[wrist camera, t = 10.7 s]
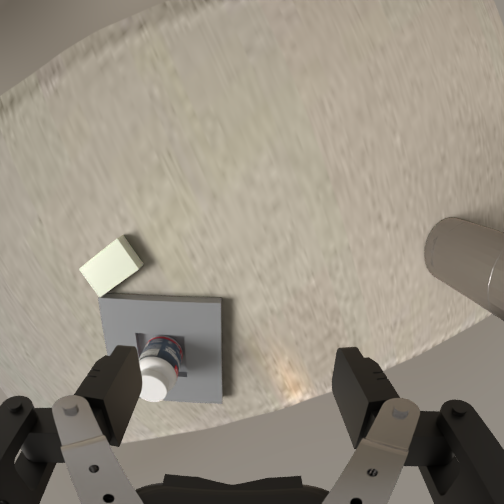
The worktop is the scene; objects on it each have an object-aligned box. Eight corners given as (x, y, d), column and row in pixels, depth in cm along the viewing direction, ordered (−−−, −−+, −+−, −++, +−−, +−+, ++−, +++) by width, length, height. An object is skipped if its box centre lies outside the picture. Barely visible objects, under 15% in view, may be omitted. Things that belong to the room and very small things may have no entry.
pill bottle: (189, 361, 42) (180, 402, 33) (156, 370, 42) (142, 410, 34) (173, 329, 41) (159, 366, 32) (139, 339, 41) (120, 376, 32)
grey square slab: (221, 297, 41) (220, 303, 39) (222, 396, 44) (222, 403, 43) (103, 292, 40) (98, 297, 38) (119, 388, 44) (116, 395, 42)
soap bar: (124, 234, 38) (117, 238, 36) (144, 263, 39) (138, 269, 37) (87, 263, 39) (79, 268, 37) (106, 290, 40) (99, 297, 38)
